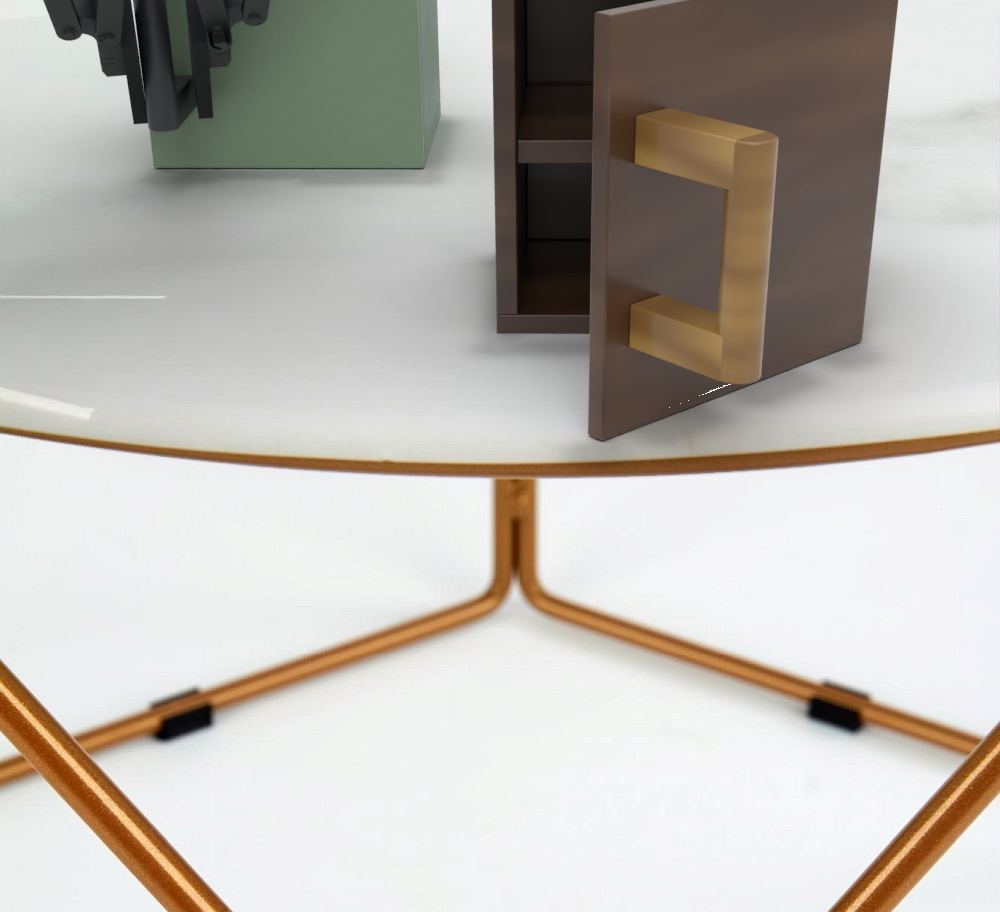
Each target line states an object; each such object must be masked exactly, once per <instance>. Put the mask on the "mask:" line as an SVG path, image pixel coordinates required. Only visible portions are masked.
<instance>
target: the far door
mask: <svg viewBox="0 0 1000 912" xmlns="http://www.w3.org/2000/svg"><path fill="white" fill-rule="evenodd" d="M132 8H133V16H134V24H135V31H136V38H137V44H138V52H139V59H140V66H141V74H142V81H143V88H144V96H145V103H146V111H147V119H148V123H147V126H148V130H149V137H150V139H149V140H150V145H151V153H152V162H153V168H155V169H424V167H425V165H426V164H425V155H424V128H423V102H422V75H421V49H420V22H419V0H270V4H269V11H268V18H267V20H266V22H264V23H263V24H261V25H258V26H249V25H247V24H245V23H244V22H243V21H240V22H238V23H236V24H234V25H233V26H232V27H231V35H232V41H233V43H232V46H231V62H230V64H229V65H228V67H215V68H210V78H211V92H212V106H213V118H205V119H199V116H198V109H197V102H196V96H195V89H194V83H193V76H192V67H191V56H190V45H189V34H188V23H187V11H186V0H132Z"/></svg>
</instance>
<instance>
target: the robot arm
mask: <svg viewBox="0 0 1000 912" xmlns="http://www.w3.org/2000/svg"><path fill="white" fill-rule="evenodd" d="M42 1H43V4H44V6H45V8H46V11H47V14H48V16H49V18H50V21H51V24H52V26H53V29H54V32H55V35H56V37H57V38H59V39H60V40H63V41H67V42H71V41H76V40H78V39H80V38H81V37H82V35H86V36H90V37H92V38H93V39H94V40H95V41H96V45H97V51H98V56H99V63H100V69H101V72H102V73H103V74H104V75H105V76H106V77H107V78H108V77H109V78H110V77H121V76H123V77H124V76H126V83H127V90H128V96H129V102H130V109H131V115H132V122H133V123H132V124H133V125H145V124H148V119H147V111H146V103H145V95H144V87H143V79H142V71H141V63H140V55H139V47H138V39H137V31H136V23H135V16H134V9H133V2H132V0H42ZM269 4H270V0H186V11H187V23H188V34H189V45H190V56H191V67H192V76H193V83H194V89H195V96H196V102H197V109H198V116H199V119H205V118H213V106H212V92H211V78H210V68H215V67H228V65H229V64H230V62H231V46H232V43H233V41H232V35H231V27H232V26H233V25H234V24H236V23H238V22H240V21H243V22H244V23H245V24H247V25H249V26H258V25H261V24H263V23H264V22H266V20H267V18H268V11H269Z"/></svg>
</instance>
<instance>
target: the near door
mask: <svg viewBox="0 0 1000 912" xmlns="http://www.w3.org/2000/svg"><path fill="white" fill-rule="evenodd" d="M898 6H899V0H655V1H650V2H645V3H640V4H635V5H630V6H625V7H619V8H614V9H609V10H604V11H599V12H596V13H595V22H594V86H593V151H592V215H591V279H590V334H589V346H588V347H589V349H588V351H589V353H588V355H589V356H588V359H589V360H588V407H587V408H588V413H587V414H588V416H587V419H588V420H587V435H588V436H590V437H591V438H594V439H597V440H599V441H602V442H603V441H607V440H609V439H611V438H614V437H617V436H619V435H621V434H625V433H627V432H630V431H632V430H635V429H637V428H640V427H642V426H645V425H647V424H650V423H653V422H656V421H658V420H660V419H663V418H667V417H668V416H671V415H675V414H676V413H679V412H681V411H684V410H686V409H689V408H692V407H695V406H697V405H700V404H702V403H705V402H708V401H710V400H713V399H715V398H718V397H720V396H723V395H726V394H728V393H731V392H733V391H737V390H739V389H741V388H744V387H747V386H750V385H752V384H755V383H756V382H760V381H763V380H765V379H767V378H770V377H773V376H776V375H777V374H781V373H782V372H786V371H787V370H788V371H789V370H791V369H793V368H796V367H799V366H801V365H803V364H806V363H810V362H811V361H814V360H816V359H820V358H822V357H825V356H827V355H830V354H832V353H835V352H837V351H840V350H843V349H845V348H848V347H850V346H853V345H855V344H856V345H857V344H859V343H861V342H862V341H863V333H864V325H865V324H864V323H865V316H866V315H865V314H866V306H867V297H868V296H867V295H868V286H869V279H870V278H869V277H870V269H871V268H870V267H871V259H872V250H873V241H874V240H873V239H874V231H875V223H876V212H877V203H878V193H879V185H880V177H881V167H882V158H883V157H882V156H883V147H884V137H885V128H886V118H887V109H888V100H889V92H890V84H891V83H890V82H891V74H892V73H891V72H892V63H893V53H894V45H895V36H896V35H895V34H896V25H897V18H898V17H897V16H898ZM728 384H731V385H728ZM723 385H728V386H725V387H723ZM718 387H719V388H720V387H723V388H720V389H717V390H715V391H712V392H710V393H707V392H709V391H710V390H713V389H716V388H718ZM705 393H707V394H705ZM702 394H704V395H702ZM699 395H700V396H699ZM688 400H689V401H688ZM680 403H681V404H680ZM669 407H670V408H669Z"/></svg>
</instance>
